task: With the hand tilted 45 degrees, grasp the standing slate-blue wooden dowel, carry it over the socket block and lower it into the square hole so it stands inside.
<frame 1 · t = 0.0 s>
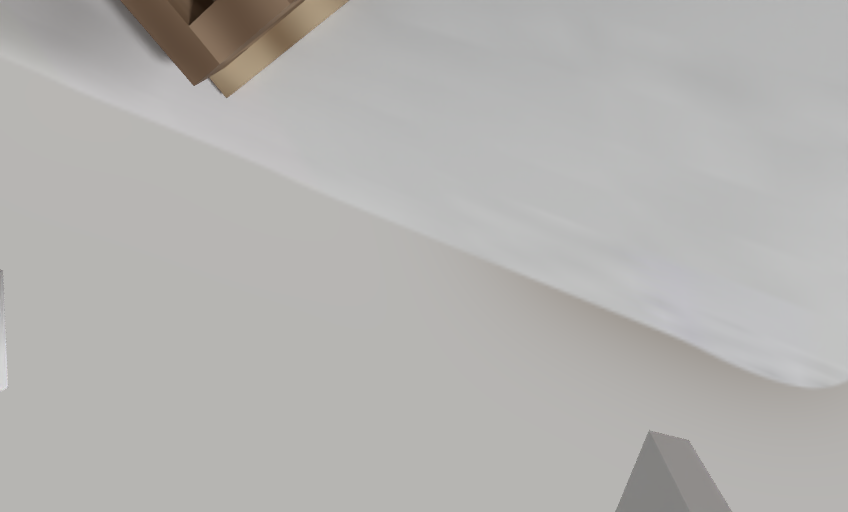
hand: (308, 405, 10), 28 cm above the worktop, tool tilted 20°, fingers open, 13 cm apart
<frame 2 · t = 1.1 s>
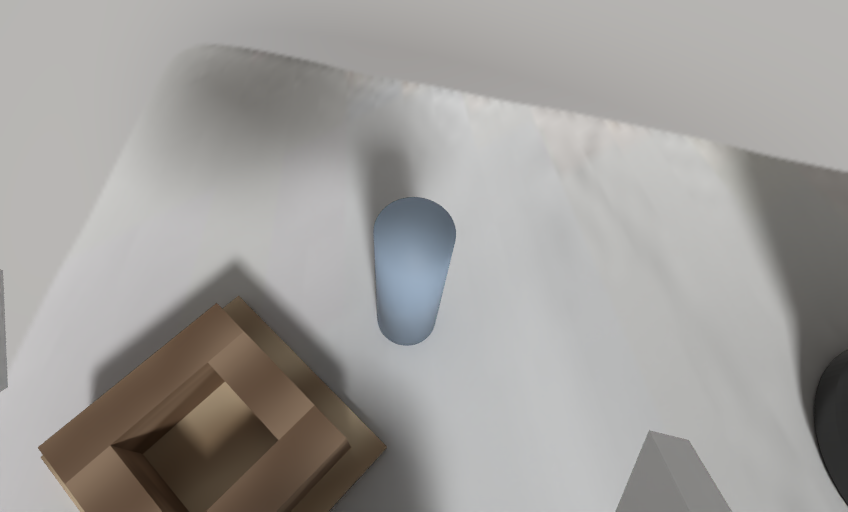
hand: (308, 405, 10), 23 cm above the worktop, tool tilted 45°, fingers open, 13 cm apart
dowel: (406, 317, 36), on the worktop
socket block: (221, 453, 31), on the worktop
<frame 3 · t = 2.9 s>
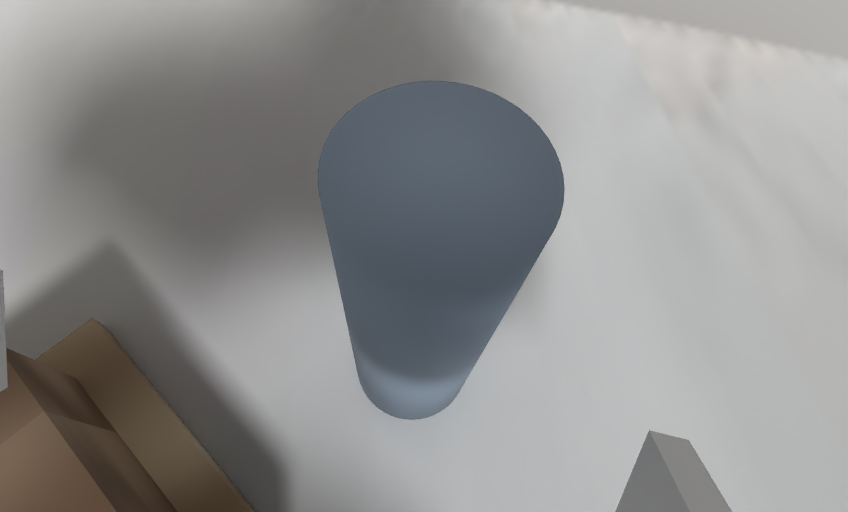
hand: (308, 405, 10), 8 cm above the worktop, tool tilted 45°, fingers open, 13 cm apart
dowel: (411, 363, 19), on the worktop
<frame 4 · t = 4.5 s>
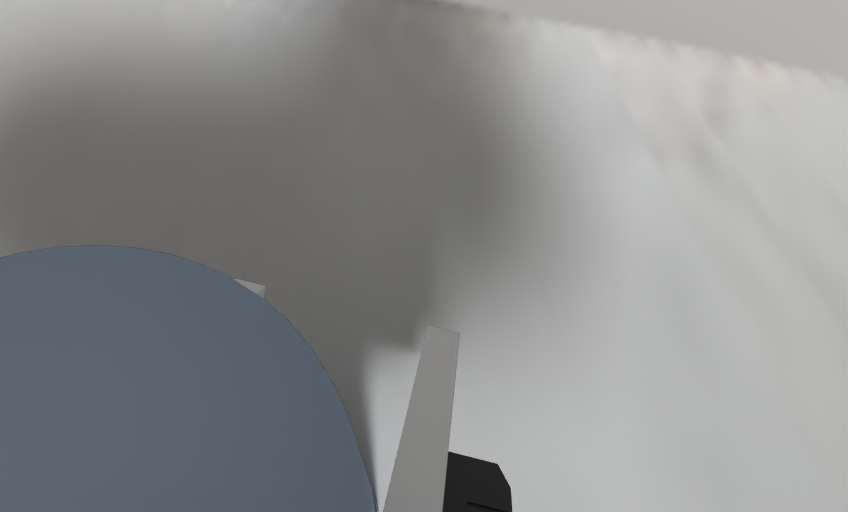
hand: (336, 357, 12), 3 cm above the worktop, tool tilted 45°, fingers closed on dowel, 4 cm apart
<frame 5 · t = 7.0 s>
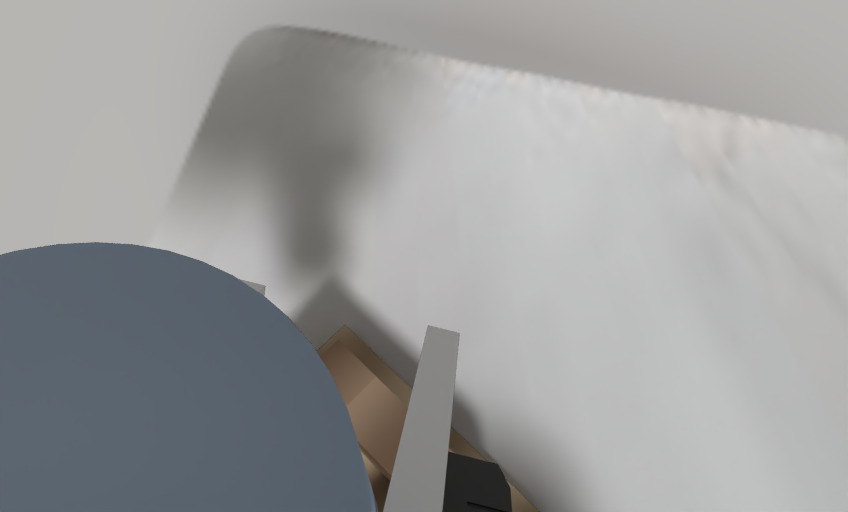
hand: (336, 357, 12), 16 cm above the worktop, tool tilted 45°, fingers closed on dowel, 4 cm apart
when the fingers open (7 cm above the worktop, at t = 9.3 s): dowel drops 3 cm, resting on socket block.
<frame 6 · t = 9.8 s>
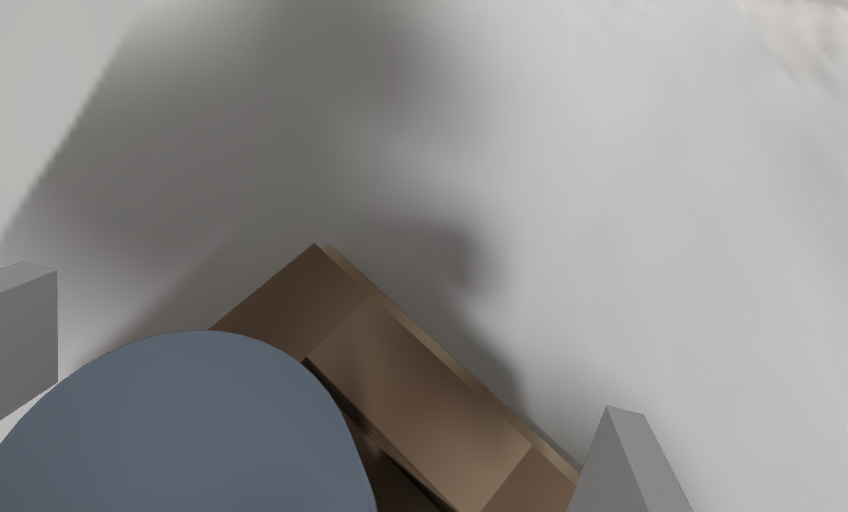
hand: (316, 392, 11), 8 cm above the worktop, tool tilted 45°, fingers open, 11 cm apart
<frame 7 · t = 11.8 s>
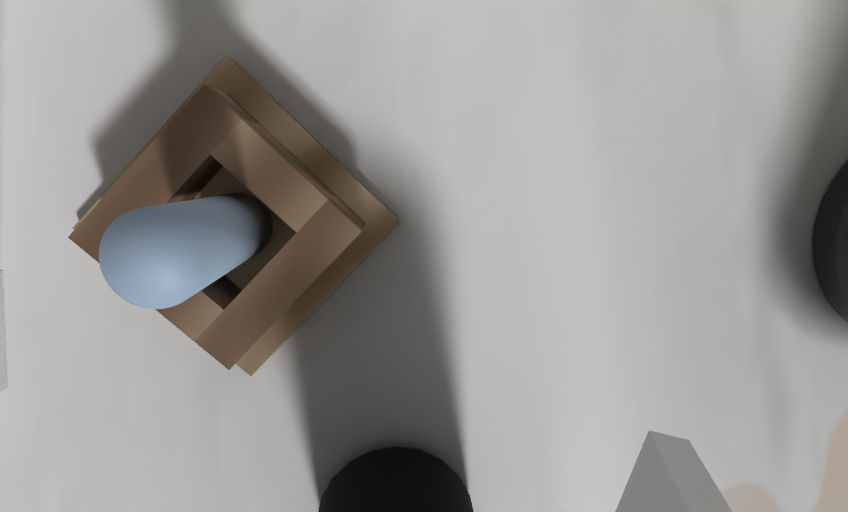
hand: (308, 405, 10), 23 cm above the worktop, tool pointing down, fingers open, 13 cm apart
dowel: (239, 225, 32), point 1 cm above the worktop, touching socket block
socket block: (242, 223, 33), on the worktop
coffee jar: (395, 504, 37), on the worktop
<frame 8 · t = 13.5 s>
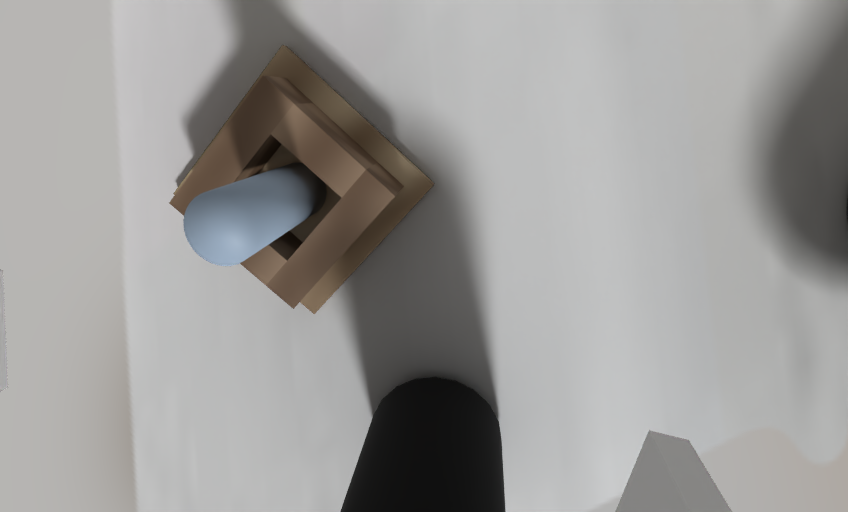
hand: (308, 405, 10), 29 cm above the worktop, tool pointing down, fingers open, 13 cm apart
dowel: (300, 190, 38), point 1 cm above the worktop, touching socket block
socket block: (303, 187, 39), on the worktop
coffee jar: (436, 425, 44), on the worktop
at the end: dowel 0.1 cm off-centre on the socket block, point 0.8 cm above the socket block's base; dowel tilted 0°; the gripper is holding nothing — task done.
